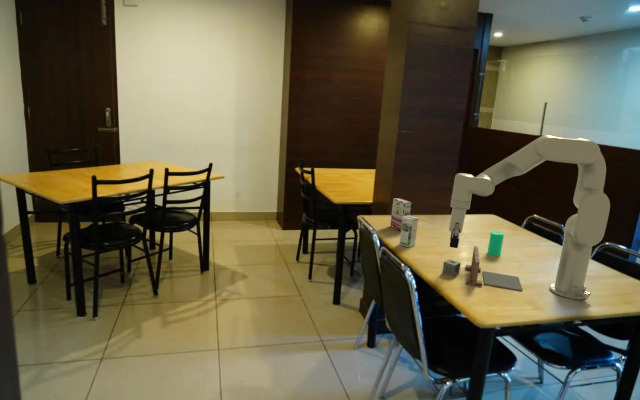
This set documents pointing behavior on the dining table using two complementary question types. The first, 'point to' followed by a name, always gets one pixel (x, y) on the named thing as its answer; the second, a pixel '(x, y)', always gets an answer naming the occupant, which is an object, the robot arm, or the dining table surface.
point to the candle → (495, 243)
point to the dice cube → (451, 268)
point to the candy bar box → (399, 212)
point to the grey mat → (502, 281)
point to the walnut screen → (474, 269)
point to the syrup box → (408, 231)
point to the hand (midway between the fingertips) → (453, 243)
